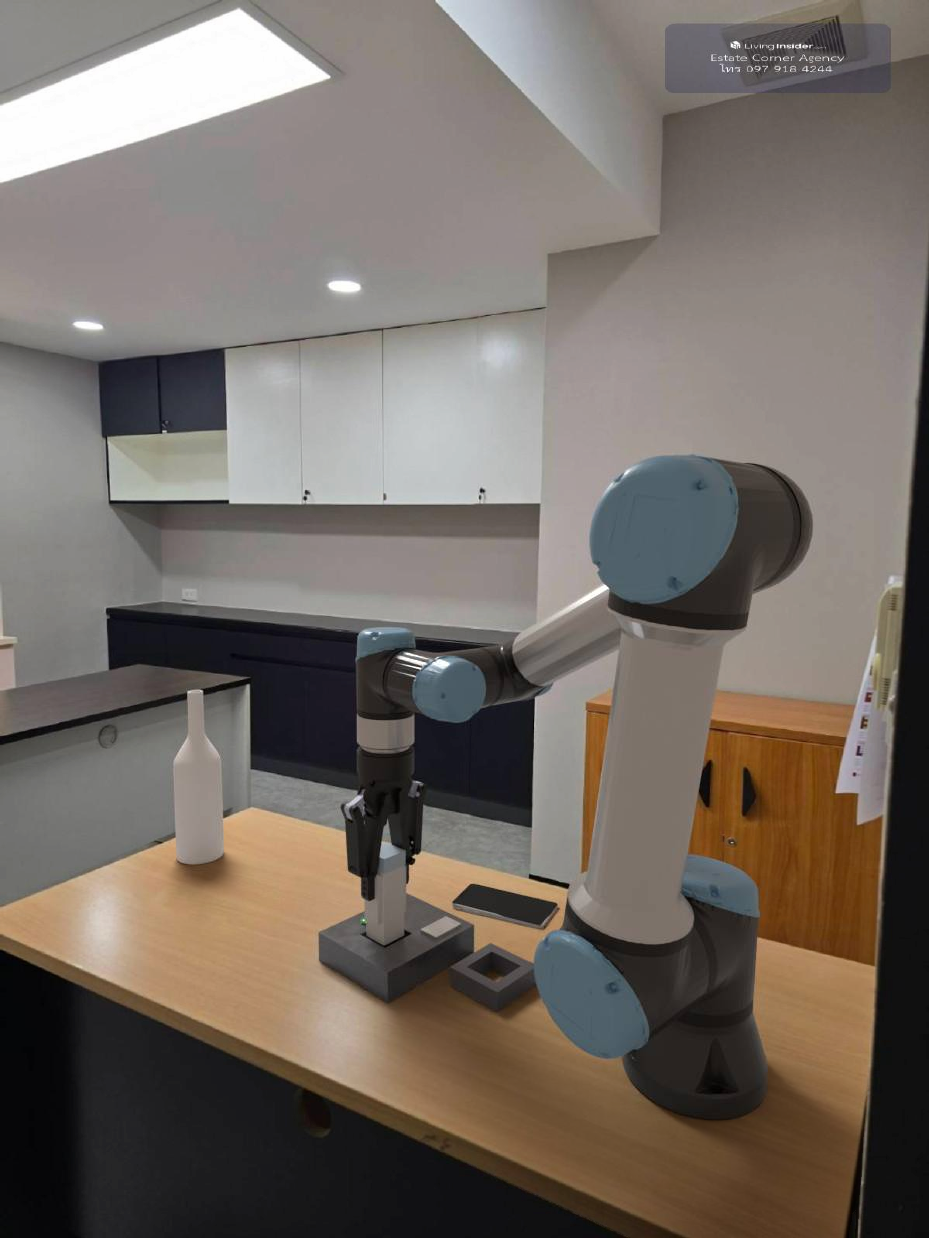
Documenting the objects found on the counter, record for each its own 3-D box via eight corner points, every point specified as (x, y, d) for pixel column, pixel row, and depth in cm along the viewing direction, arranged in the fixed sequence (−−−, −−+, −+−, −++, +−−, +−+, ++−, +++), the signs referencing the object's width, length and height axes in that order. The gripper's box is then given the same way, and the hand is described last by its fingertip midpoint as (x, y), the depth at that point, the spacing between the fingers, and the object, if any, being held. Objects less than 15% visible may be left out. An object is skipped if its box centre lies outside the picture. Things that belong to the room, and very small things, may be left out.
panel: (473, 951, 107) (474, 921, 106) (387, 1002, 95) (387, 969, 95) (405, 917, 116) (405, 889, 116) (318, 959, 104) (318, 929, 104)
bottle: (233, 854, 138) (228, 690, 135) (193, 869, 132) (187, 698, 129) (207, 842, 143) (202, 684, 140) (167, 856, 137) (161, 691, 134)
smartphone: (541, 926, 113) (450, 903, 119) (541, 933, 113) (450, 910, 119) (558, 902, 120) (471, 882, 126) (558, 909, 120) (471, 889, 127)
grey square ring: (537, 983, 99) (537, 965, 99) (497, 1011, 94) (497, 992, 93) (490, 960, 105) (490, 942, 104) (449, 985, 99) (449, 966, 99)
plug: (405, 935, 104) (405, 850, 103) (384, 946, 101) (384, 859, 100) (386, 925, 107) (386, 842, 105) (365, 935, 104) (365, 850, 102)
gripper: (412, 728, 109) (411, 884, 112) (316, 752, 97) (318, 927, 100) (450, 738, 104) (448, 902, 107) (354, 765, 92) (355, 949, 95)
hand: (385, 913), depth 104 cm, fingers closed on plug, 4 cm apart
